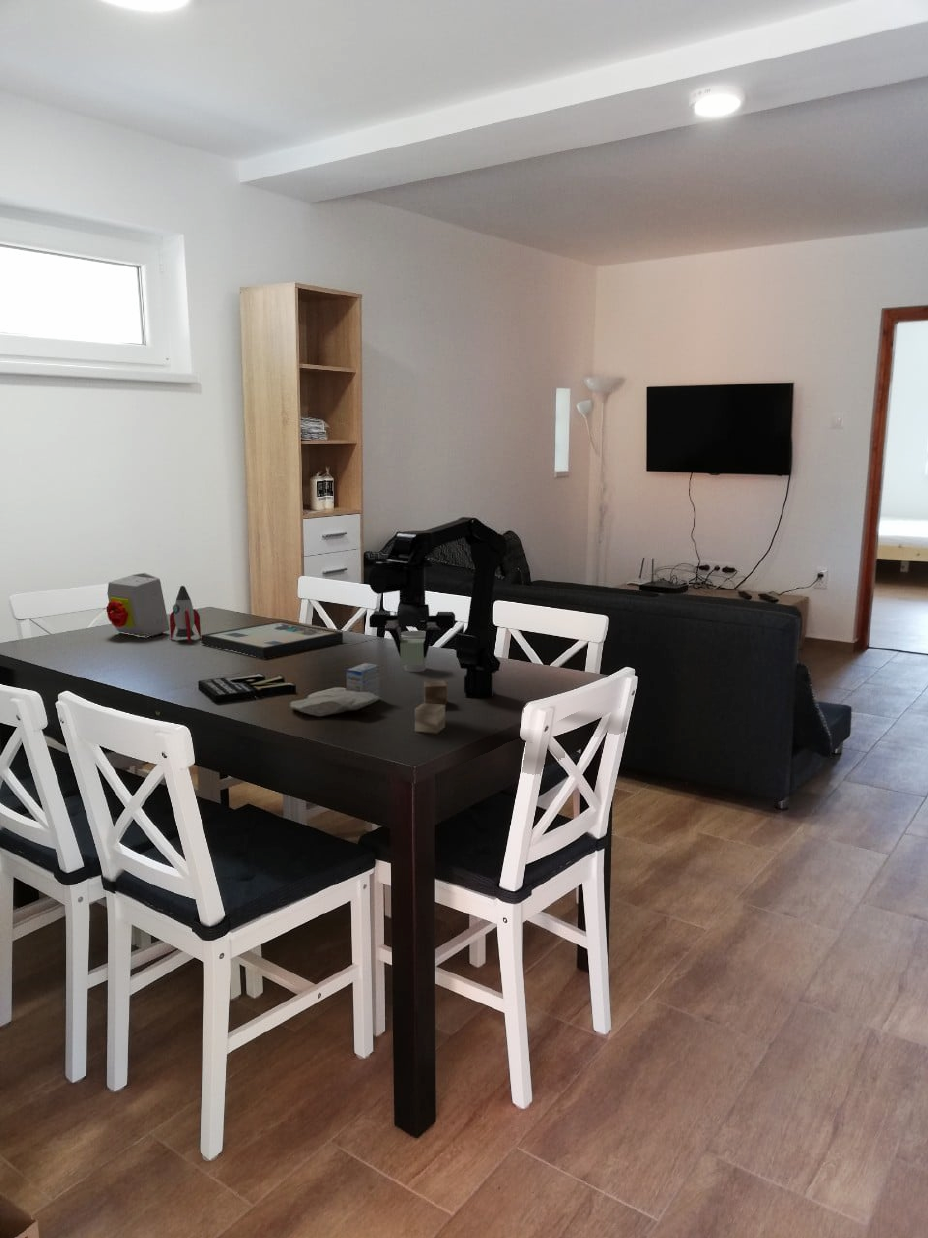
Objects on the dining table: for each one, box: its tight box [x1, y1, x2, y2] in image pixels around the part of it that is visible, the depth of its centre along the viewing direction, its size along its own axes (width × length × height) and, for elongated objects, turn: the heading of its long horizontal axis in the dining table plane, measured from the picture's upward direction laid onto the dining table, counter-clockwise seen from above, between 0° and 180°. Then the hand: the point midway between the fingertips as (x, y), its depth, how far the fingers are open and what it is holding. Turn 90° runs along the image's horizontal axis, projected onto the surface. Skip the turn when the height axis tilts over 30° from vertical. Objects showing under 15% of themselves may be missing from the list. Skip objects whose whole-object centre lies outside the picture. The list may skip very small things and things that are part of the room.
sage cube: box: [400, 639, 427, 666], centre depth 211 cm, size 5×5×5 cm
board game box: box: [201, 620, 344, 659], centre depth 289 cm, size 30×4×30 cm
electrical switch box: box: [106, 572, 170, 637], centre depth 300 cm, size 15×15×20 cm
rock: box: [289, 687, 380, 717], centre depth 215 cm, size 21×5×15 cm
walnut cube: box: [422, 680, 448, 707], centre depth 221 cm, size 5×5×5 cm
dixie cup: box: [401, 630, 428, 673], centre depth 254 cm, size 8×8×10 cm
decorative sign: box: [197, 672, 297, 705], centre depth 233 cm, size 17×2×20 cm
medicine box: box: [346, 662, 381, 701], centre depth 222 cm, size 8×4×9 cm, turn 154°
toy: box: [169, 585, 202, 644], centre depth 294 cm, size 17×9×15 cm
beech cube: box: [414, 702, 446, 734], centre depth 201 cm, size 5×5×5 cm
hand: (413, 657), depth 211 cm, fingers closed on sage cube, 5 cm apart
